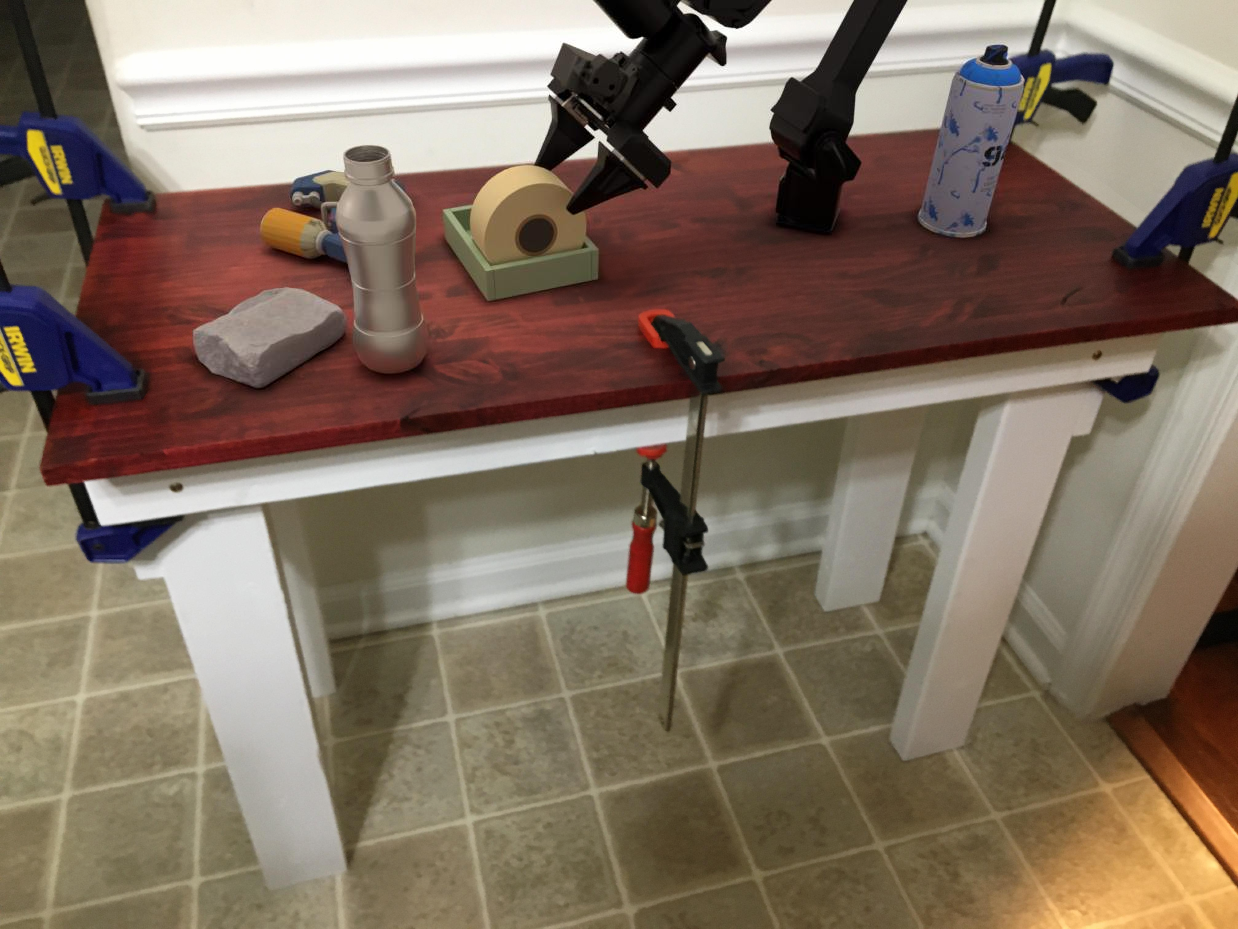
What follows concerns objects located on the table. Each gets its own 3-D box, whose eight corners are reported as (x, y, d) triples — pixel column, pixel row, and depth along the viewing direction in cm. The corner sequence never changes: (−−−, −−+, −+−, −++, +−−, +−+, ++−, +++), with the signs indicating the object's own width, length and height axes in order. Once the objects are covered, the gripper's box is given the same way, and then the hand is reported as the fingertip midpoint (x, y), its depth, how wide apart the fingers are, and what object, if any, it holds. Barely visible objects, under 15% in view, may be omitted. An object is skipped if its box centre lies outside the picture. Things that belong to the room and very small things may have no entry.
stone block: (191, 376, 93) (262, 394, 88) (172, 329, 91) (245, 345, 86) (288, 324, 101) (358, 338, 96) (274, 279, 99) (345, 291, 94)
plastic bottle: (361, 344, 95) (328, 137, 82) (433, 342, 96) (412, 137, 83) (353, 383, 90) (316, 170, 77) (429, 382, 91) (406, 170, 78)
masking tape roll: (570, 253, 110) (568, 156, 103) (587, 272, 107) (586, 174, 100) (474, 273, 106) (464, 174, 99) (488, 294, 103) (480, 194, 96)
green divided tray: (547, 220, 116) (547, 191, 114) (598, 279, 106) (598, 249, 104) (444, 238, 112) (442, 209, 109) (487, 301, 102) (485, 270, 100)
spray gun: (255, 282, 103) (405, 277, 105) (247, 243, 100) (401, 240, 102) (279, 197, 119) (408, 195, 121) (273, 162, 116) (405, 160, 118)
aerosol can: (960, 244, 115) (1009, 64, 102) (904, 218, 119) (944, 43, 106) (999, 224, 119) (1051, 49, 106) (943, 200, 123) (986, 30, 110)
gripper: (565, -15, 99) (464, 110, 103) (648, 44, 86) (530, 185, 90) (634, 59, 107) (538, 173, 110) (719, 123, 94) (608, 250, 98)
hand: (551, 192), depth 102 cm, fingers open, 9 cm apart
